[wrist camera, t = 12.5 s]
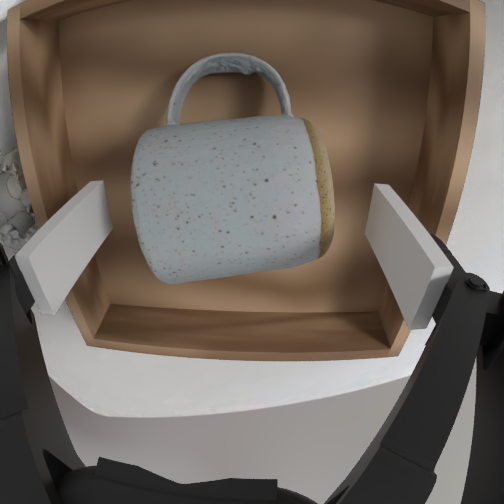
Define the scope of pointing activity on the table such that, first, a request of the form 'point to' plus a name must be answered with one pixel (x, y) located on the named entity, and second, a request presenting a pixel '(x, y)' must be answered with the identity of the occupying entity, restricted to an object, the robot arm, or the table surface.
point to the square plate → (7, 7)
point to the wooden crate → (242, 106)
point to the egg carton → (20, 224)
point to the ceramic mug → (231, 187)
